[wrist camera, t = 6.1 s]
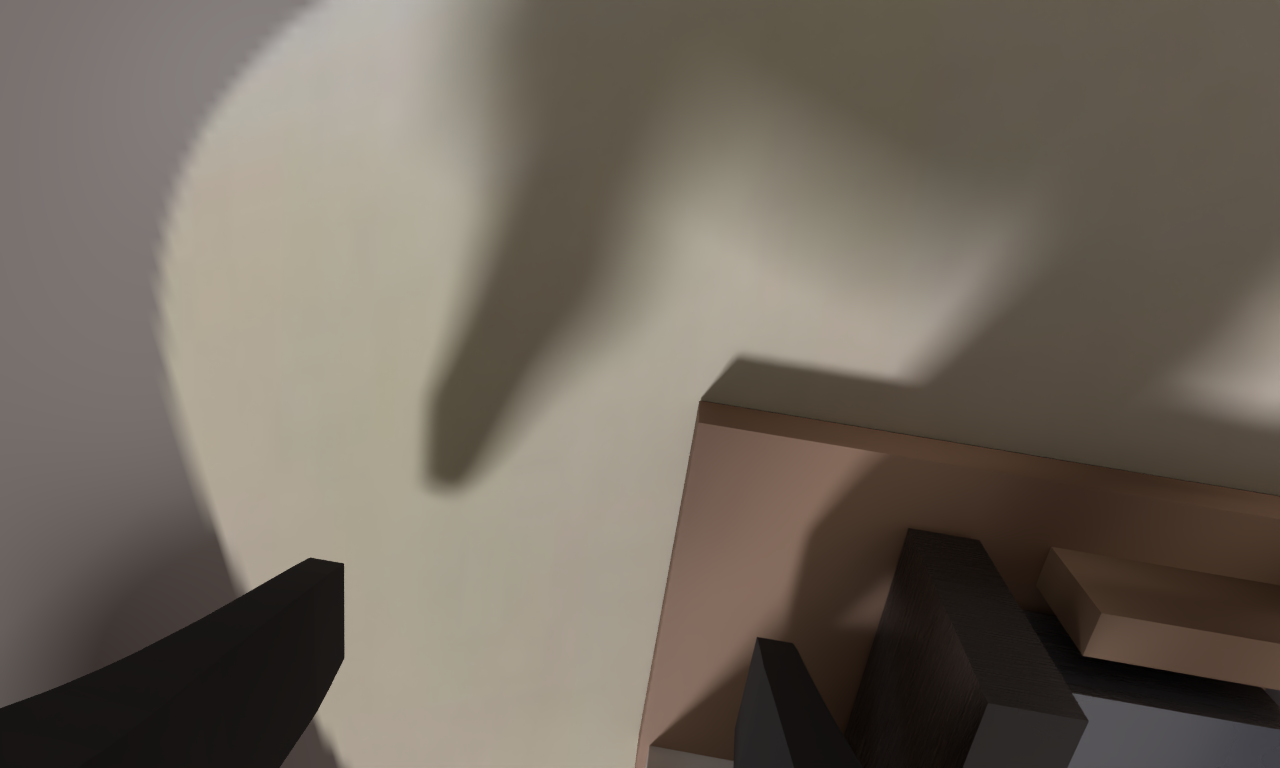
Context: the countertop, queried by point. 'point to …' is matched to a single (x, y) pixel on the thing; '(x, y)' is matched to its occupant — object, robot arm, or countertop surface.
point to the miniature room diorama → (948, 504)
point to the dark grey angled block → (1029, 685)
